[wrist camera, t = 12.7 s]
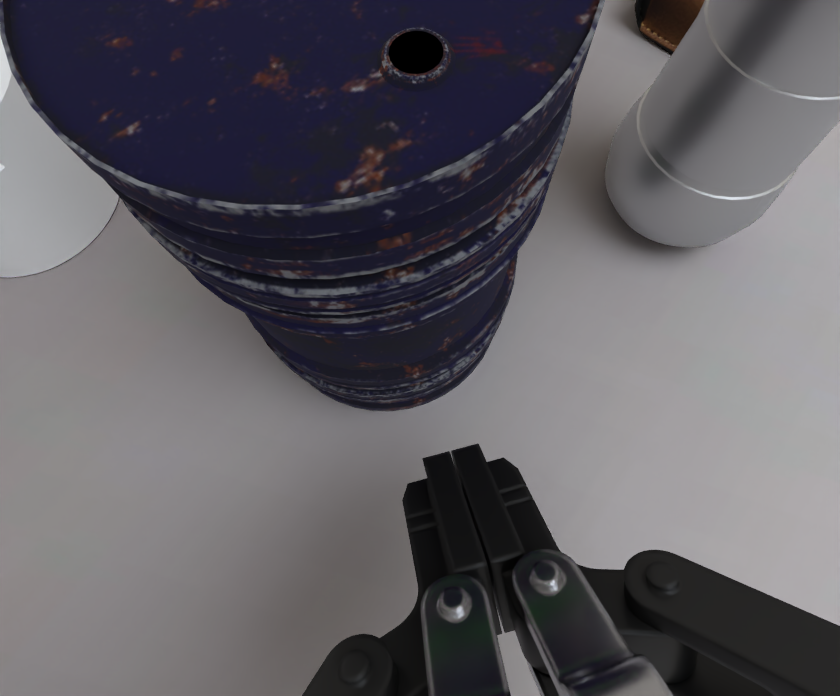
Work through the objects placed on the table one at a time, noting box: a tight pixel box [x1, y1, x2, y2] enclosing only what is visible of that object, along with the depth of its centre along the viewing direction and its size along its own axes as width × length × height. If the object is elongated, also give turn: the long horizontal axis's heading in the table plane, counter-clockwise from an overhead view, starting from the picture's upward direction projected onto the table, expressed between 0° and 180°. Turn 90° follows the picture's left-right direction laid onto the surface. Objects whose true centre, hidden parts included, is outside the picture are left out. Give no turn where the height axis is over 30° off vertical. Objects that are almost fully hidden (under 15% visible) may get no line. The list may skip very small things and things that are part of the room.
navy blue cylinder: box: [0, 0, 605, 411], centre depth 15 cm, size 10×10×15 cm
